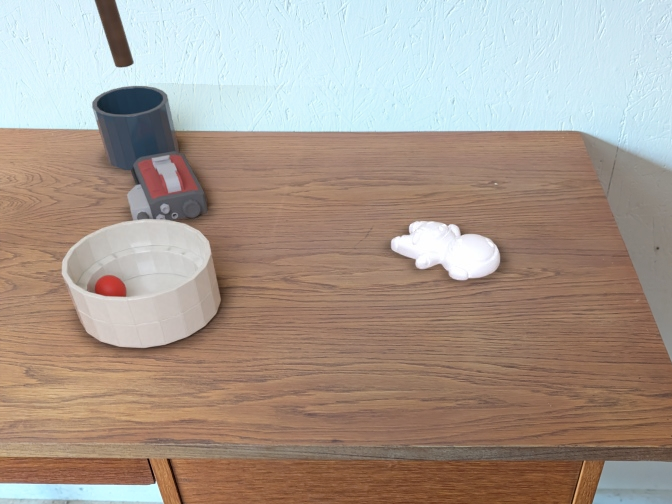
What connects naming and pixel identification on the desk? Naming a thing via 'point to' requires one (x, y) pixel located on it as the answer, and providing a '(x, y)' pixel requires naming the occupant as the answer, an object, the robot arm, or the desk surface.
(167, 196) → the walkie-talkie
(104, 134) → the crock
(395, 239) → the white animal figurine
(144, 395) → the desk surface
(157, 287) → the bowl
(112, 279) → the red ball
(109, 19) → the stick
